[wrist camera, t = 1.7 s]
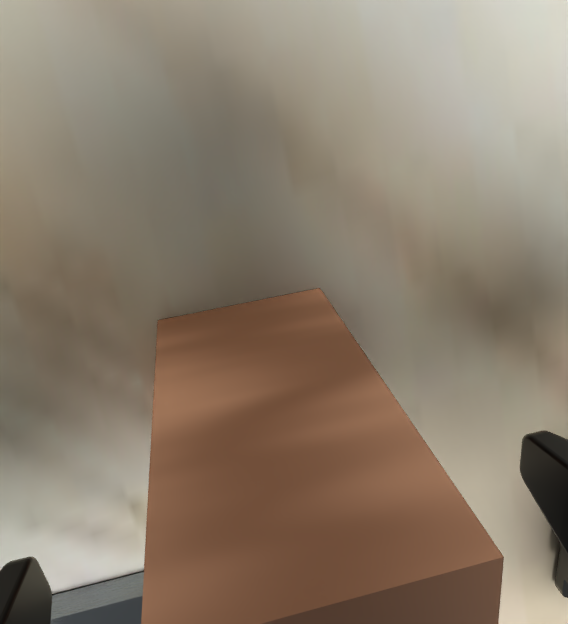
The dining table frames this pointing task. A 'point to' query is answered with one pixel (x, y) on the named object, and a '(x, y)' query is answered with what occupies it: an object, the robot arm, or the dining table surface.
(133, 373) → the dining table surface
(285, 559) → the pin
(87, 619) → the socket block
